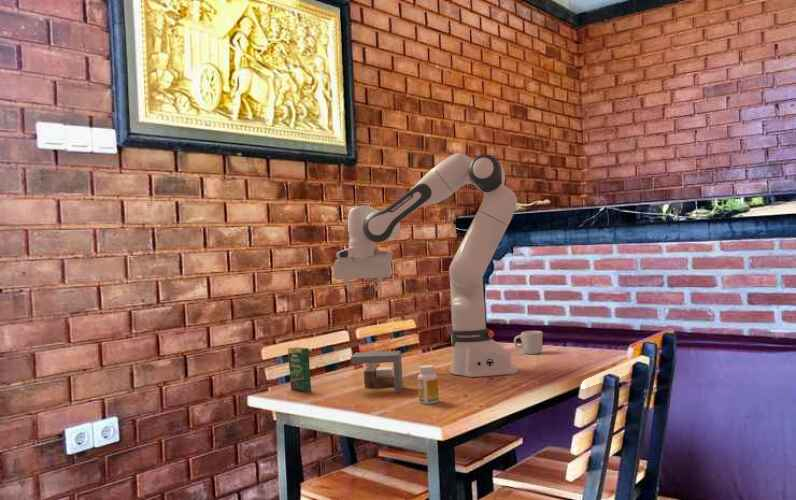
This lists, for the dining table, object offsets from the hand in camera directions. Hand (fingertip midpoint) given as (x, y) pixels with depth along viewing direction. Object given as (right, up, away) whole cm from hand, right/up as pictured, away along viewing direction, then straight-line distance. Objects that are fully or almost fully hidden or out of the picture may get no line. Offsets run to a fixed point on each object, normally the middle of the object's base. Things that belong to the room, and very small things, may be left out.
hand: (364, 291), depth 226 cm
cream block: (+8, -28, -23) cm, 37 cm away
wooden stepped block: (+7, -28, -20) cm, 34 cm away
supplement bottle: (+20, -27, -50) cm, 60 cm away
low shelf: (+6, -28, -33) cm, 43 cm away
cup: (+61, -25, +18) cm, 69 cm away
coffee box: (-18, -29, -25) cm, 43 cm away
